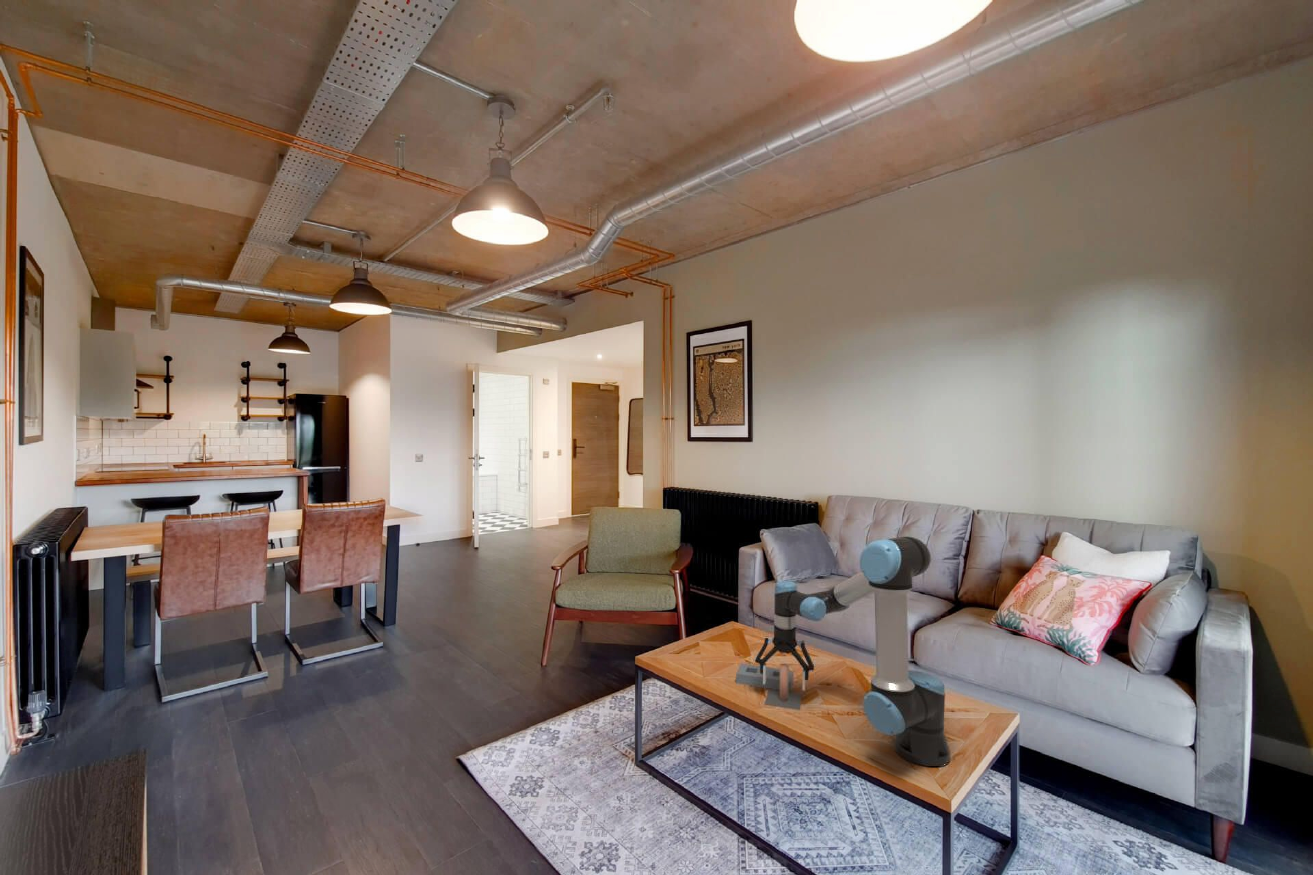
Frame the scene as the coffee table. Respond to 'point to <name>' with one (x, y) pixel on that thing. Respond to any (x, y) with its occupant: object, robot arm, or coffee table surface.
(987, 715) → the coffee table surface
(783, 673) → the peg
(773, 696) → the mat
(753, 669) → the hole block
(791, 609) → the robot arm
